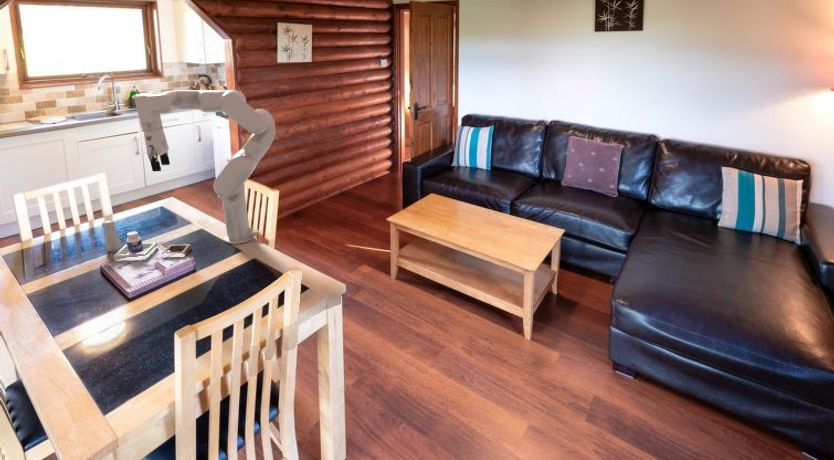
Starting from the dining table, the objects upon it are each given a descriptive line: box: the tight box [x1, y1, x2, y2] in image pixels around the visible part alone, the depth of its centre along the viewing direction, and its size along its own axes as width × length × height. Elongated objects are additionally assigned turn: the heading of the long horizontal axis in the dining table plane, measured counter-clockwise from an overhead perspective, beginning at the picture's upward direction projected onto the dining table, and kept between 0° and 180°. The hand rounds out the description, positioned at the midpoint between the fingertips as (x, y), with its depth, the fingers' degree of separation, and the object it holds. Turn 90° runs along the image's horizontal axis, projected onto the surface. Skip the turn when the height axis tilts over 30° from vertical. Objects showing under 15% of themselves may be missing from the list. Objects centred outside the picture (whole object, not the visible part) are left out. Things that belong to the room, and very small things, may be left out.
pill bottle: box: [126, 230, 143, 254], centre depth 199 cm, size 5×5×9 cm
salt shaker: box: [101, 220, 123, 253], centre depth 202 cm, size 6×6×13 cm
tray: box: [113, 241, 158, 261], centre depth 200 cm, size 12×12×3 cm
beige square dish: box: [161, 243, 192, 255], centre depth 201 cm, size 8×8×2 cm
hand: (161, 167), depth 200 cm, fingers open, 9 cm apart
